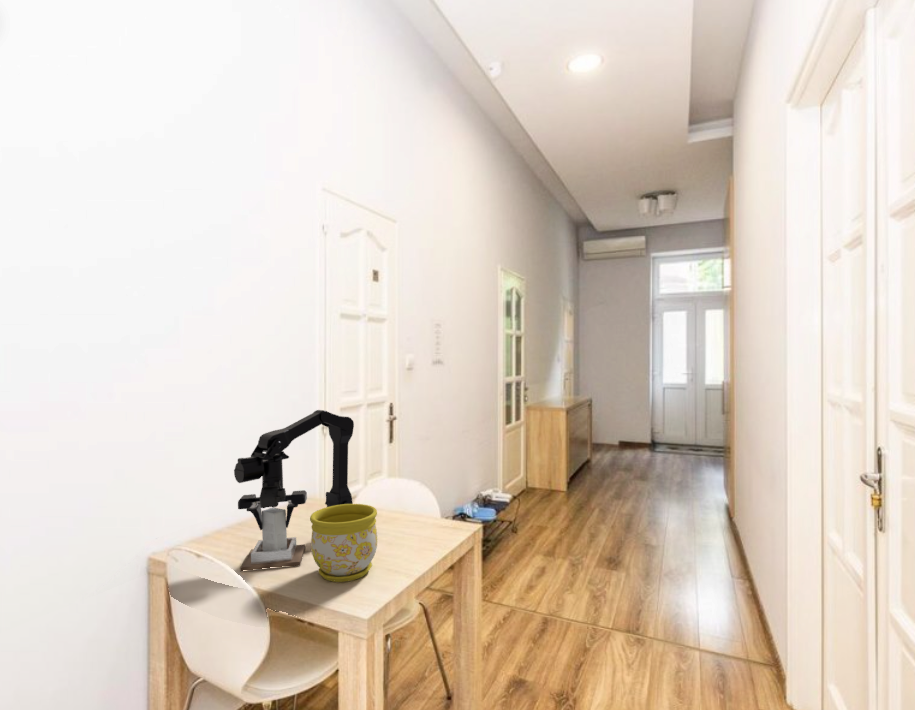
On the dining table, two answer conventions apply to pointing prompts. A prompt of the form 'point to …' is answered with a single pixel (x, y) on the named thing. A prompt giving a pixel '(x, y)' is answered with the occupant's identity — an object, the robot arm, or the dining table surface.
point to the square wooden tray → (294, 562)
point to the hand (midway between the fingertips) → (274, 528)
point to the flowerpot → (344, 541)
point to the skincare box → (274, 529)
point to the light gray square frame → (273, 553)
